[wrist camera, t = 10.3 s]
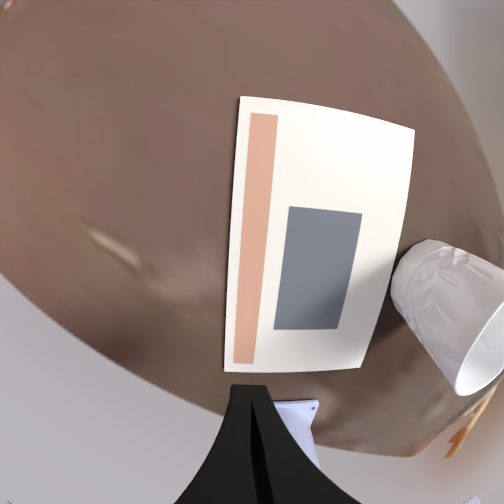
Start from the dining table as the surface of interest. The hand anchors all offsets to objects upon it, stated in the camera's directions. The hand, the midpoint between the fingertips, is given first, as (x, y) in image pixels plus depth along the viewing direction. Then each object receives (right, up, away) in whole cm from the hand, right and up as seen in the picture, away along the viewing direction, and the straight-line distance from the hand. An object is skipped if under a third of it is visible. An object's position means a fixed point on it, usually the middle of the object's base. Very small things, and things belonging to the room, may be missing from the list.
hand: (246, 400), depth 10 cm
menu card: (+5, +5, +8) cm, 11 cm away
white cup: (+14, +4, +10) cm, 18 cm away
